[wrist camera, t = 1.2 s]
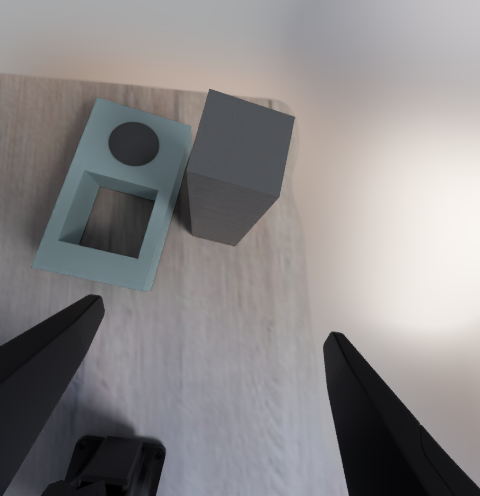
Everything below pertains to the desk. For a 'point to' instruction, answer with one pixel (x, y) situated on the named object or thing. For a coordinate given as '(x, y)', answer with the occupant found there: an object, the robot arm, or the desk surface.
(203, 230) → the square bit
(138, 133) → the socket block
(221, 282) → the desk surface
